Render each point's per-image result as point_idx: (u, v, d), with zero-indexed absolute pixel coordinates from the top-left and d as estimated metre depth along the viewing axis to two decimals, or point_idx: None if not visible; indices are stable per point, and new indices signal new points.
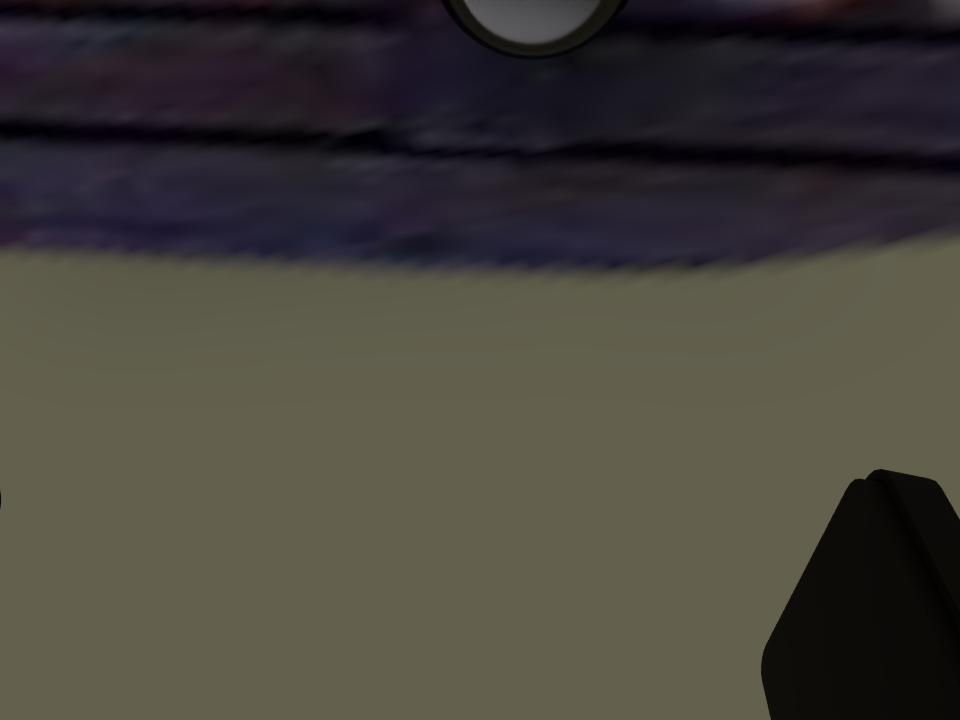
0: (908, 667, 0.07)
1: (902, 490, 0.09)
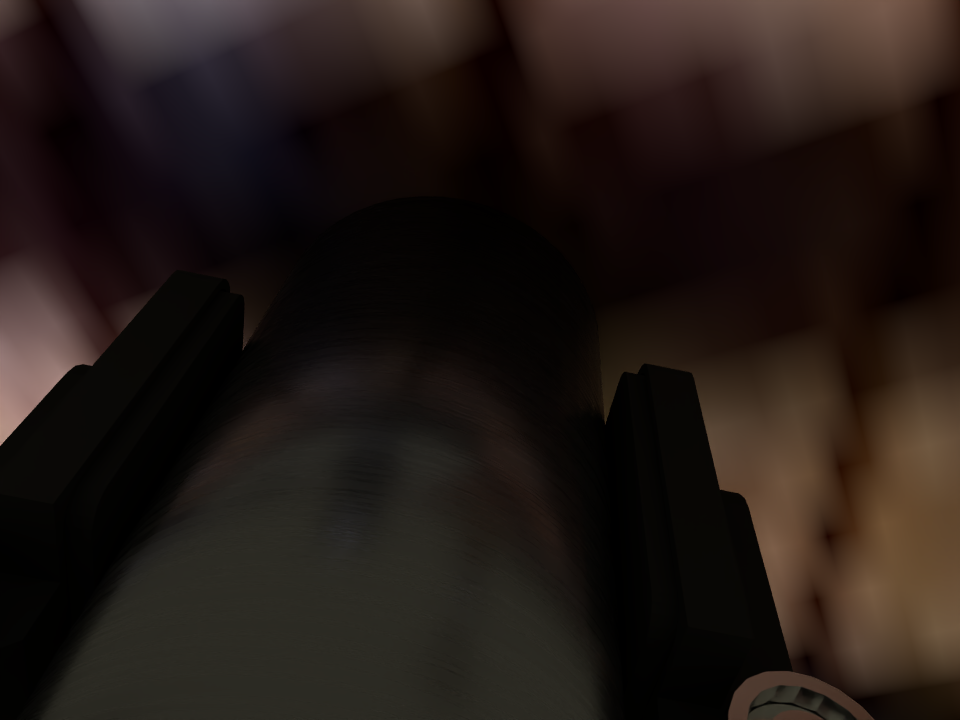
0: (625, 520, 0.08)
1: (655, 378, 0.09)
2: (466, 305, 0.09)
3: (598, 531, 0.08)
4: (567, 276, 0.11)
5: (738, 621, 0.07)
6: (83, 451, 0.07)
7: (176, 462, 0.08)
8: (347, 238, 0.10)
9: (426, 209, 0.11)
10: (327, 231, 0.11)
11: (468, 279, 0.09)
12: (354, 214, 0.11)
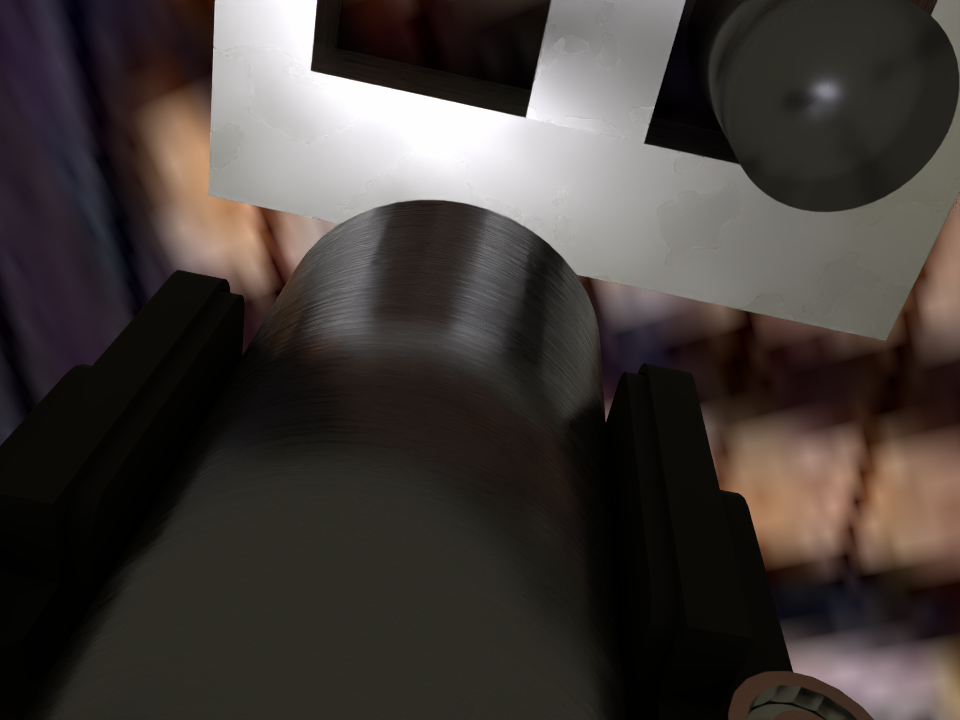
0: (625, 519, 0.08)
1: (655, 378, 0.09)
2: (467, 309, 0.09)
3: (599, 535, 0.08)
4: (568, 279, 0.11)
5: (738, 621, 0.07)
6: (82, 451, 0.07)
7: (177, 467, 0.08)
8: (348, 241, 0.10)
9: (427, 212, 0.11)
10: (328, 234, 0.11)
11: (469, 284, 0.09)
12: (355, 217, 0.11)
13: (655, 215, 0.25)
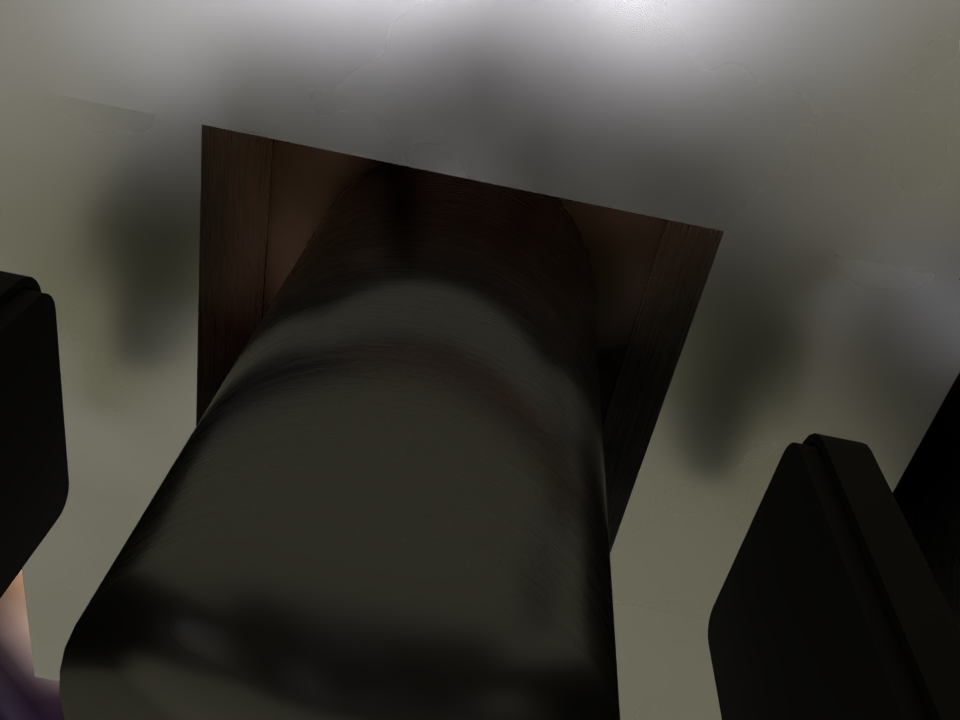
0: (827, 615, 0.08)
1: (832, 452, 0.09)
2: (479, 234, 0.10)
3: (589, 412, 0.09)
4: (565, 220, 0.13)
5: None
6: None
7: (241, 356, 0.09)
8: (374, 185, 0.12)
9: None
10: (355, 182, 0.13)
11: (480, 216, 0.11)
12: (379, 167, 0.13)
13: None
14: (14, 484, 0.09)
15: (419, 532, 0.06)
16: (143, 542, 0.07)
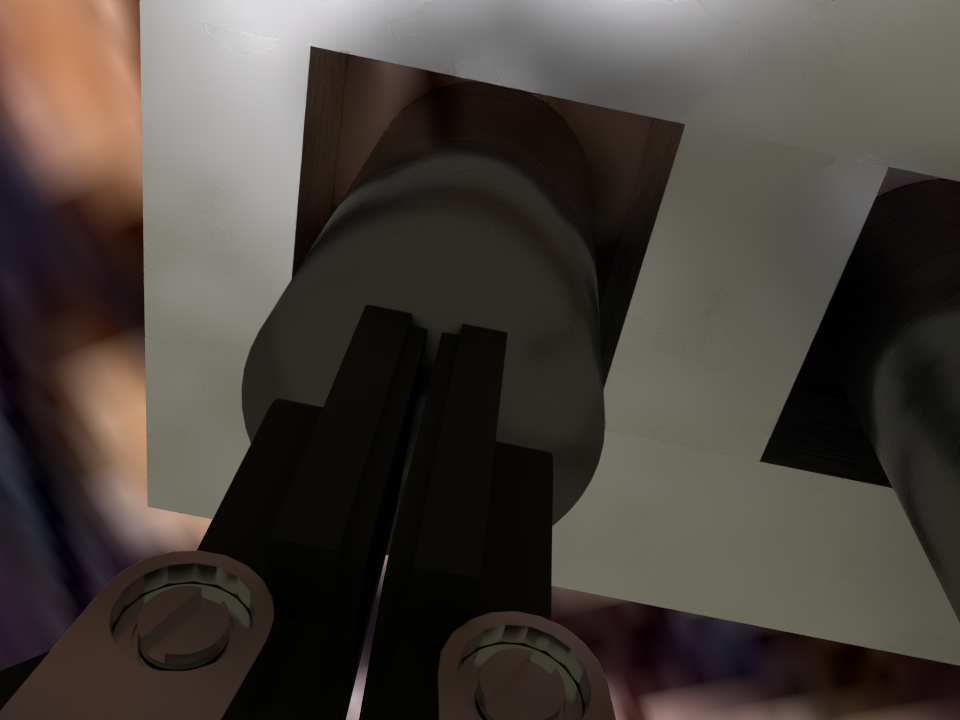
0: None
1: (466, 337, 0.09)
2: (506, 128, 0.14)
3: (586, 244, 0.13)
4: (569, 134, 0.16)
5: (470, 561, 0.07)
6: (344, 495, 0.07)
7: (340, 204, 0.13)
8: (424, 103, 0.16)
9: (476, 87, 0.16)
10: (407, 106, 0.17)
11: (506, 119, 0.15)
12: (426, 94, 0.17)
13: (769, 543, 0.18)
14: (393, 504, 0.10)
15: (478, 260, 0.10)
16: (301, 279, 0.10)
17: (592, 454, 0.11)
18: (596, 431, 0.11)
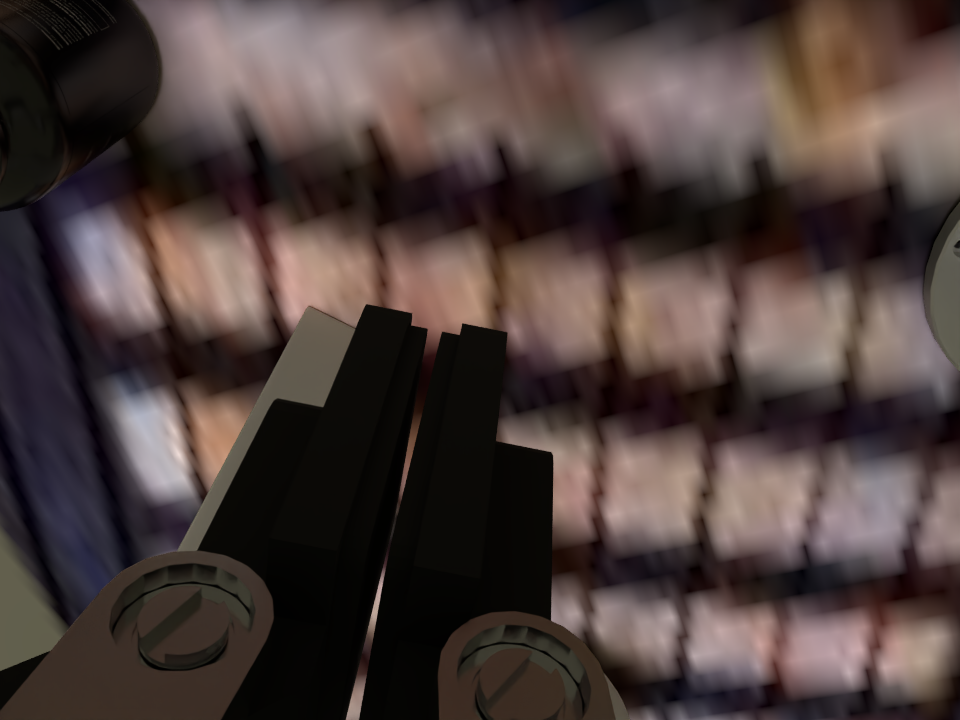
0: None
1: (466, 337, 0.09)
2: None
3: None
4: None
5: (469, 561, 0.07)
6: (344, 495, 0.07)
7: None
8: None
9: None
10: None
11: None
12: None
13: None
14: (393, 503, 0.10)
15: None
16: None
17: None
18: None
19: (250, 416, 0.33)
